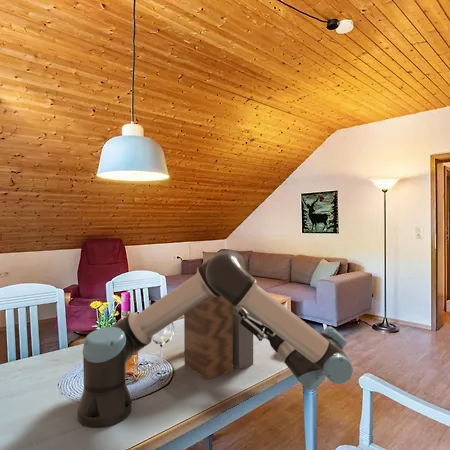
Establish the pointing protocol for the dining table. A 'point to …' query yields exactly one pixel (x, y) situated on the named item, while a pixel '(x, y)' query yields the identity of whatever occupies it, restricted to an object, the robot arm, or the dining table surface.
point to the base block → (241, 343)
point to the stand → (209, 337)
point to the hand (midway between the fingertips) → (248, 301)
